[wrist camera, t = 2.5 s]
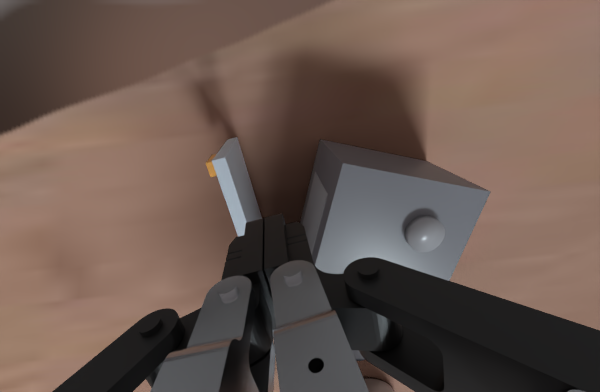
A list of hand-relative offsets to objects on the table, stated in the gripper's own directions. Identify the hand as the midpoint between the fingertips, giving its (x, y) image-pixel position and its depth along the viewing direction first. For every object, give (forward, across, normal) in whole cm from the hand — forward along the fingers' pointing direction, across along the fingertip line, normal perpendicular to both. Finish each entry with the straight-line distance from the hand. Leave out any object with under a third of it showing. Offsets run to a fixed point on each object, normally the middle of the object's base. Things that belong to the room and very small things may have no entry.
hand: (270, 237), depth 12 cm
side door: (+13, +3, +6) cm, 15 cm away
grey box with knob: (+13, -6, +8) cm, 17 cm away
